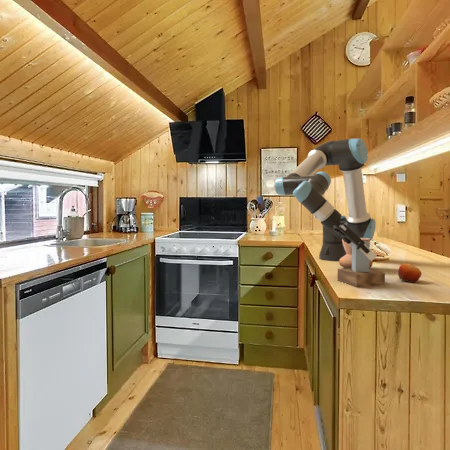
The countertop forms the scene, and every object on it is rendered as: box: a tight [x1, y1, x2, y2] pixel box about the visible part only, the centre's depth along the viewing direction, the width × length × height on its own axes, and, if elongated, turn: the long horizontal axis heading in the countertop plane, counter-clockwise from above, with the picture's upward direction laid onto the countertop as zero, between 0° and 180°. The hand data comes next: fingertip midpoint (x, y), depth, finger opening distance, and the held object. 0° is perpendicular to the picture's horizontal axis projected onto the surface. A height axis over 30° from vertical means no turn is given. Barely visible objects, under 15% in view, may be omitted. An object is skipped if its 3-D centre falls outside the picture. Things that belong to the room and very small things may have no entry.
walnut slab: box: [337, 268, 386, 288], centre depth 137 cm, size 12×12×5 cm
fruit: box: [397, 262, 422, 283], centre depth 139 cm, size 8×8×8 cm
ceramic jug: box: [338, 238, 374, 269], centre depth 164 cm, size 18×14×14 cm
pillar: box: [352, 241, 371, 272], centre depth 136 cm, size 5×5×11 cm
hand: (368, 256), depth 136 cm, fingers open, 11 cm apart
